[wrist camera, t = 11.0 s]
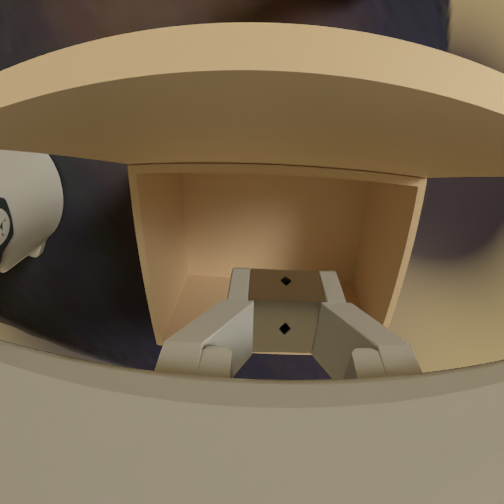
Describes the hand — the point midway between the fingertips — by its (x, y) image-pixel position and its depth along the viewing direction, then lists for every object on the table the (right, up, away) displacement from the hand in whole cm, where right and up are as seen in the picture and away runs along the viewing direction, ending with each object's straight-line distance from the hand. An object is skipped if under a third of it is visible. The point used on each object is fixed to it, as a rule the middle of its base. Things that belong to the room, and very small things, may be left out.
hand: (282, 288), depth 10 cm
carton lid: (0, +5, +2) cm, 5 cm away
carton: (+1, +5, +24) cm, 25 cm away
